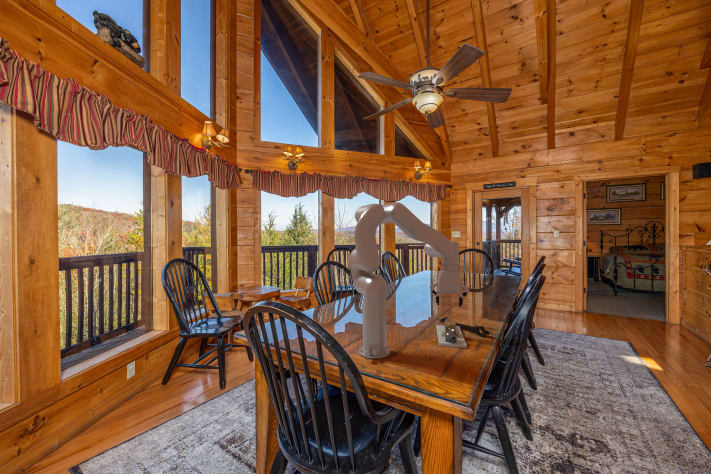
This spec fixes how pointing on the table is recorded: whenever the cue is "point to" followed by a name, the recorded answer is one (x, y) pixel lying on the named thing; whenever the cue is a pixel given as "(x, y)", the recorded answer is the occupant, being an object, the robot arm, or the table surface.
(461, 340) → the light grey rectangular plate
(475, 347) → the table surface
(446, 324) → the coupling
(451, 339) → the dark grey rounded block
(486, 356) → the table surface
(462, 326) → the wrench
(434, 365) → the table surface
